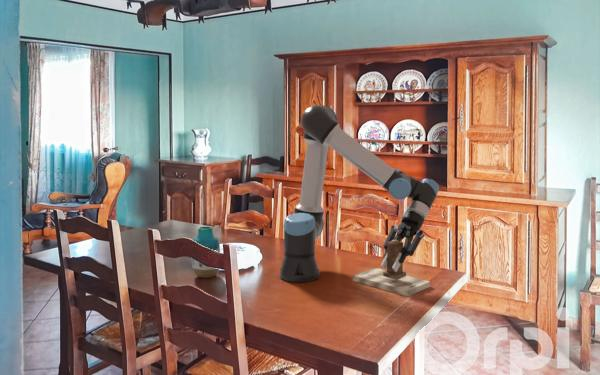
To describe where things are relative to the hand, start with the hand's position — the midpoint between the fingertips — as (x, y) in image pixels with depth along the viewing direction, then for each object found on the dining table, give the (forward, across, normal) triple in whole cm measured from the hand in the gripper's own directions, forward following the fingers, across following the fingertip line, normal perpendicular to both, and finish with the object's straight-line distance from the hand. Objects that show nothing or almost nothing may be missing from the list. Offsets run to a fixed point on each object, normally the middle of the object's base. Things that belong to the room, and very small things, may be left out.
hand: (388, 268), depth 192 cm
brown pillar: (0, 0, -5) cm, 5 cm away
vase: (+31, +58, +21) cm, 69 cm away
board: (+2, +2, -9) cm, 9 cm away
